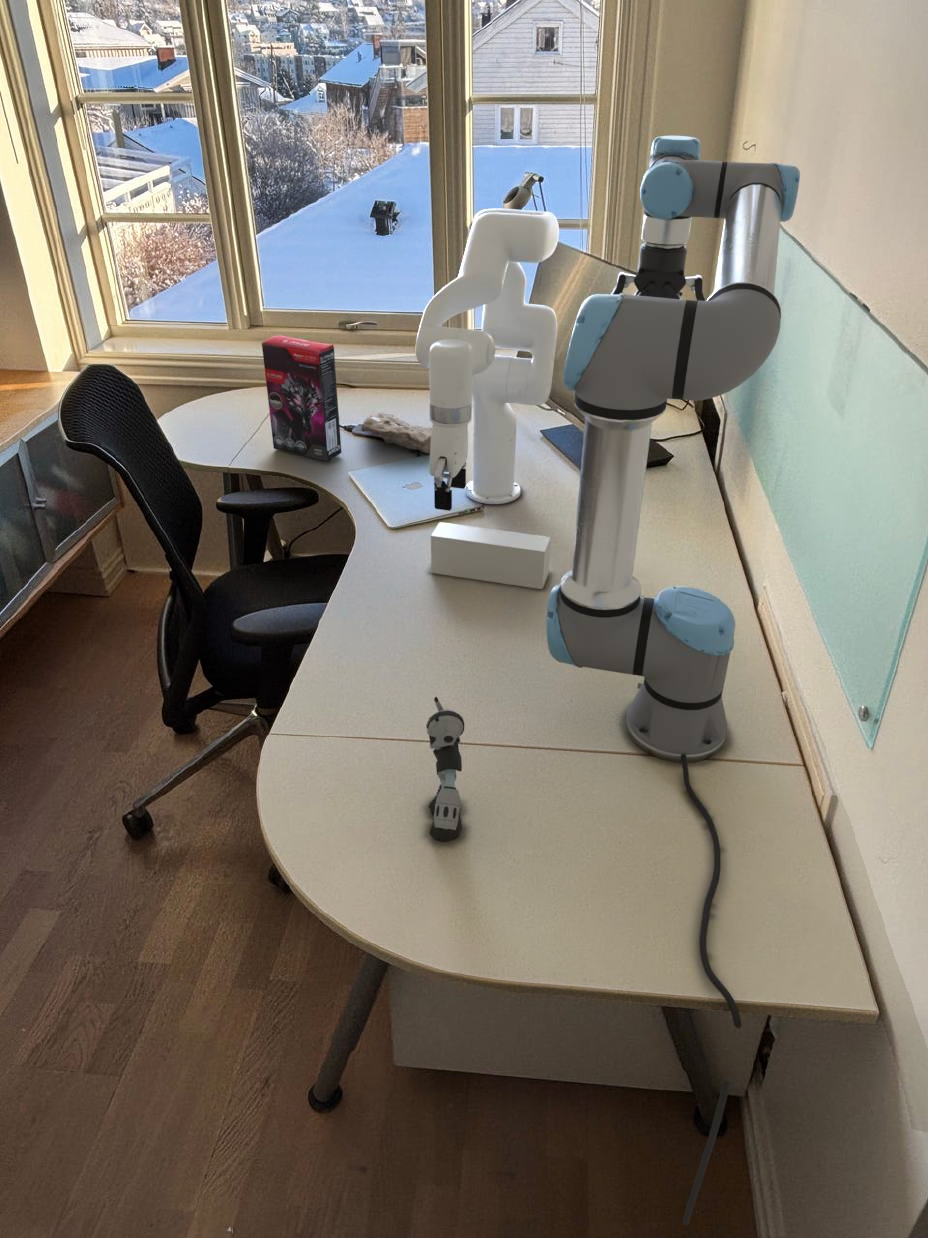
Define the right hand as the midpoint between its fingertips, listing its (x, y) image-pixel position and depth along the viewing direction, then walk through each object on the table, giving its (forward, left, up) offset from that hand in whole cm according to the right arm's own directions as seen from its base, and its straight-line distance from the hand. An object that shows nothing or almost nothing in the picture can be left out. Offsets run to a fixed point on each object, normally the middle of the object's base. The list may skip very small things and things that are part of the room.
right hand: (648, 372), depth 161 cm
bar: (-9, +26, -40) cm, 48 cm away
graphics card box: (+35, +83, -40) cm, 99 cm away
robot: (-75, +15, -40) cm, 86 cm away
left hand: (-9, +34, -25) cm, 42 cm away
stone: (+47, +63, -40) cm, 89 cm away
